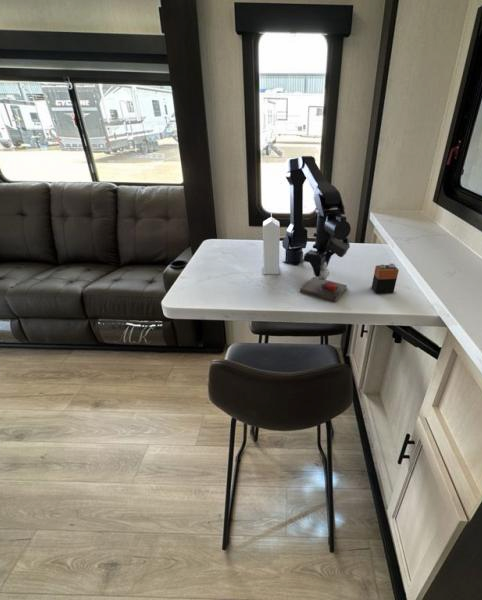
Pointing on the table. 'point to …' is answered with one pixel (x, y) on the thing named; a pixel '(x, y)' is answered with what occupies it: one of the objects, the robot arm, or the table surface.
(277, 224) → the milk
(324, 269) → the white bunny figurine
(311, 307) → the table surface
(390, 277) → the battery
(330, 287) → the button
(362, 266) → the table surface
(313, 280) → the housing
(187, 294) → the table surface
